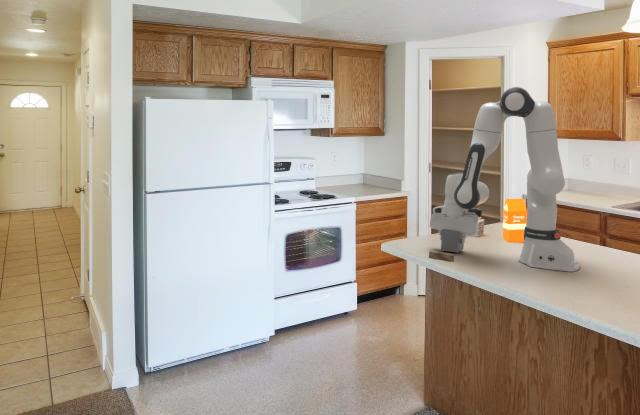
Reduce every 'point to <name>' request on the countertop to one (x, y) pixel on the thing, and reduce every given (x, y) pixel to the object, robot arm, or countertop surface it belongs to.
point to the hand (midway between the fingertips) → (452, 241)
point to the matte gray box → (451, 241)
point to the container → (480, 222)
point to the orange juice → (514, 220)
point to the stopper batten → (441, 255)
